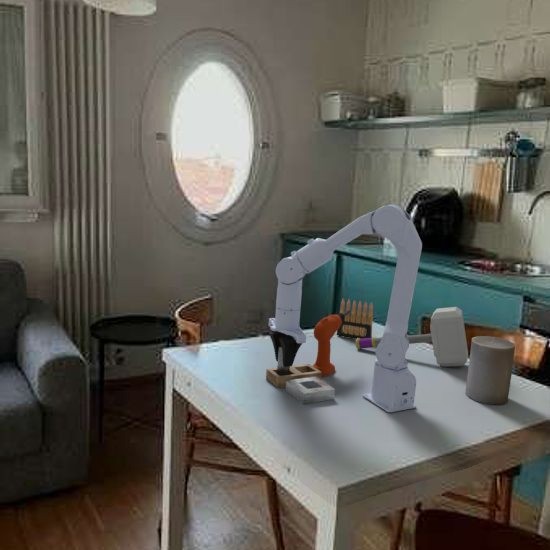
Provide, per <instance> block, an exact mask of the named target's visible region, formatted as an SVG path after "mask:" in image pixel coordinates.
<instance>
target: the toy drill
mask: <svg viewBox="0 0 550 550" xmlns="http://www.w3.org/2000/svg"><path fill="white" fill-rule="evenodd" d="M349 313H350V314H351V309H350V310H347V311H346V310H345V312H344V313H343V314H342V313H340V312H339V313H336V314H329V315H328V316H326V317H323V318H321V319H320V320H319V321H318V322H317V324H316V325H314V326H315V327H314V329H313V336H314V338H315V339H316V341H317V355H316V358H315V359H316V360H315V362H314V363H313V364H312V366H313V367H315V368H316V369H318V370H319V371H321V372H322V377H326V376H329V374H330V375H332V374H333V373H334V372H335V370H336V366H335V365H334V364H333V363H332V362H331V339H333V337H334V335H335V334H337V330H338V329H339V328H340V326H341V324H342V322H343V321H344V320H345V316H346V315H348V314H349ZM331 373H332V374H331Z"/></svg>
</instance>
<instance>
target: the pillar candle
mask: <svg viewBox="0 0 550 550" xmlns="http://www.w3.org/2000/svg"><path fill="white" fill-rule="evenodd" d="M515 350H516V344H515V343H514V342H512V341H510V340H508V339H505V338H502V337H497V336H488V335H487V336H485V335H484V336H483V335H481V336H474V337H472V338H471V344H470V350H469V351H470V353H469V354H470V355H469V361H468V369H467V377H466V384H465V385H466V386H465V395H466V396H467V397H468V398H470V399H471V400H473V401H475V402H478V403H481V404H485V405H495V406H497V405H498V406H499V405H504V404H507V403H508V402H509V396H510V395H509V394H510V388H511V379H512V373H513V368H514V367H513V366H514V359H515Z"/></svg>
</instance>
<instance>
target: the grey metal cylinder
mask: <svg viewBox="0 0 550 550" xmlns="http://www.w3.org/2000/svg"><path fill="white" fill-rule="evenodd" d="M276 368H277V374H278V375H280V376H284V375H289V373H290V366H288V367H284V366H283V352H282V346H281V345H279V352H278V362H277V367H276Z"/></svg>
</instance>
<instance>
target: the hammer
mask: <svg viewBox="0 0 550 550" xmlns="http://www.w3.org/2000/svg"><path fill="white" fill-rule="evenodd" d="M464 321H465V320H464V315H463V310H462V309H460V308H459V307H458V306H451V307H443V308H442V307H441V308H439V307H438V308H436V309H435V310H434V312H433V313H432V315H431V317H430V324H429V329H430V333H425V334H413V335H407V337H408V340H409V345H412V344H425V343H427V344H429V343H432V349H433V355H434V357H435V359H436V364H438V365H439V366H441V367H442V368H444V367H445V368H446V367H459V366H460V367H461V366H462V367H463V366H465V364H466V363H467V362H468V358H469V350H468V349H469V348H468V343H467V336H466V330H465V329H466V328H465V322H464ZM382 337H383V336H381V337H374V336H372V338H363V339H360V338H357V339H355V348H357V350H361V349H371V348H374V349H376V348H377V346H378V344H379V343H380V342H381V339H382Z"/></svg>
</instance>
